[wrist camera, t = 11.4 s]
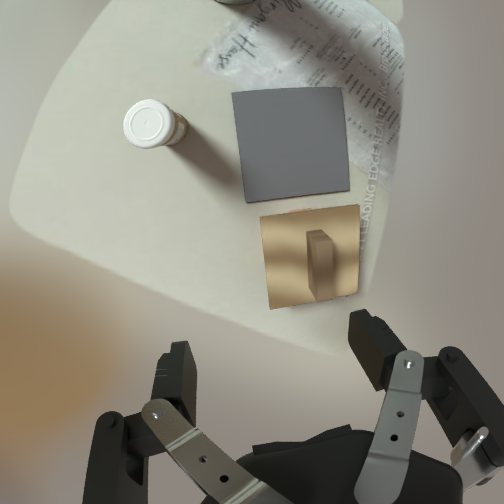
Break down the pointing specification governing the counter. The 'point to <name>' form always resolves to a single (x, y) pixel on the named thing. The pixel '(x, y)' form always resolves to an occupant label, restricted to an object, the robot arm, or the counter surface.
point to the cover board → (295, 252)
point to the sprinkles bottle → (153, 125)
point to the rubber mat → (291, 142)
